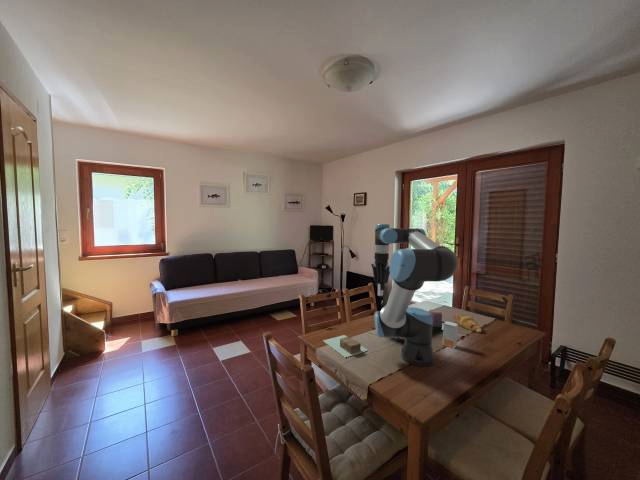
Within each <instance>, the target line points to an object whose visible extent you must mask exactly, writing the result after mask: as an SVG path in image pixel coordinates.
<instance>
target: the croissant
mask: <svg viewBox="0 0 640 480" xmlns="http://www.w3.org/2000/svg"><path fill="white" fill-rule="evenodd" d="M453 318H454V320H455V324H458V326H459V327H461V328H463V329H467V330H469V331H473V332H475V333H482V328H481V326H480V325H479V323H478V321H476V320H474V318H473V317H471V316H470V315H467V314H465V315H454V316H453Z"/></svg>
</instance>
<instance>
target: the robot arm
mask: <svg viewBox="0 0 640 480" xmlns="http://www.w3.org/2000/svg"><path fill="white" fill-rule="evenodd" d="M390 244H391V245H393V244H408V245H410V246H411V247H413V248H409V247H406V248H398V249H396V250H395V251H394V252H393V253H392V255H391V257H390V254H389V252H390ZM373 257H374V263H371V264H370V265H371V268H372V274H373V281H374V282H375V283H376V284H377V285H376V288H377V296H379V297H382V296H384V290H385V284H388V282H389V278H390V277H391V279H392V280H393V284H392V288H391V290H390V293H389V296H388V299H387V302H386V304H385V305H384V306H383V307H382V308H381V310H377V311H374V325H375V332H376V334H377V335H376V336H378V337H379V338H384V339H389V338H393V339H394V338H395V339H396V338H405V339H404V343H403V345H402V347H401V351H400V356H401V358H402V360H403V361H405V362H406V363H408V364H410V365H413V366H417V367H430V366H433V365H434V364H435V362H436V356H435V353H434V348H433V346H432V345H433V344H432V341H433V327H434V326H433V324H434V323H433V315H432V314H431V313H430V312H429V311H427V310H425V309H423V308H419V307H414V306H413V307H412V306H410V303H411V302H412V299H413V297H414V295H415V293H416V291H419V290H421V288H422V287H423V285H424V283H425V282H443V281H446V280H449V279H450V278H451V277H453V276H454V275H455V273H456V272H457V269H458V267H459V260H458V257H457V254H455V252H454V251H453V250H451V249H450V248H449V247H447V246H444V245H439V243H437V242H435V241H433V240H432V239H431V238H429V237H428V236H427V233H426V231H425V229H423V228H407V227H406V228H401V227H400V228H397V227H396V228H392V227H391V226H390V224H389V223H377V224H375V227H374V256H373ZM389 258H390V260H389Z"/></svg>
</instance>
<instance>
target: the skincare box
mask: <svg viewBox="0 0 640 480" xmlns="http://www.w3.org/2000/svg"><path fill="white" fill-rule="evenodd" d="M442 330H443V331H442V344H441V345H442V346H445V347H448V348H452V349H454V350H455V348H456V347H457V345H458V333H459V325H458V324H457V323H456V322H452V321H447V320H445V322H444V323H443V327H442Z"/></svg>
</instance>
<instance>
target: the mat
mask: <svg viewBox="0 0 640 480" xmlns="http://www.w3.org/2000/svg"><path fill="white" fill-rule="evenodd" d="M346 337H348V336H347V335H345V334H343V335H339V336H336V337H331V338H328V339H323V340H322V342H324V343H325V344H326V345H327V346H329V347H330V348H331V349H332V348H333V349H332V350H334V351H335V350H336V351H337V352H336V351H335V352H336V353H337V354H339V353H340V354H341V357H343V356H344V357H345V358H344V357H343V358H344V359H347V358H350V356H351V357H353V355H354V356H356V355H359V354H363V353H365V352H369V350H368V349H367V348H365V347H364V346H362V345H361V349H360V352H356V353H353V354H350V353H348V352H347V351H345V350H344V349H343V348H341V347H340V339H342V338H346ZM340 354H339V355H340ZM346 357H347V358H346Z"/></svg>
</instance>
